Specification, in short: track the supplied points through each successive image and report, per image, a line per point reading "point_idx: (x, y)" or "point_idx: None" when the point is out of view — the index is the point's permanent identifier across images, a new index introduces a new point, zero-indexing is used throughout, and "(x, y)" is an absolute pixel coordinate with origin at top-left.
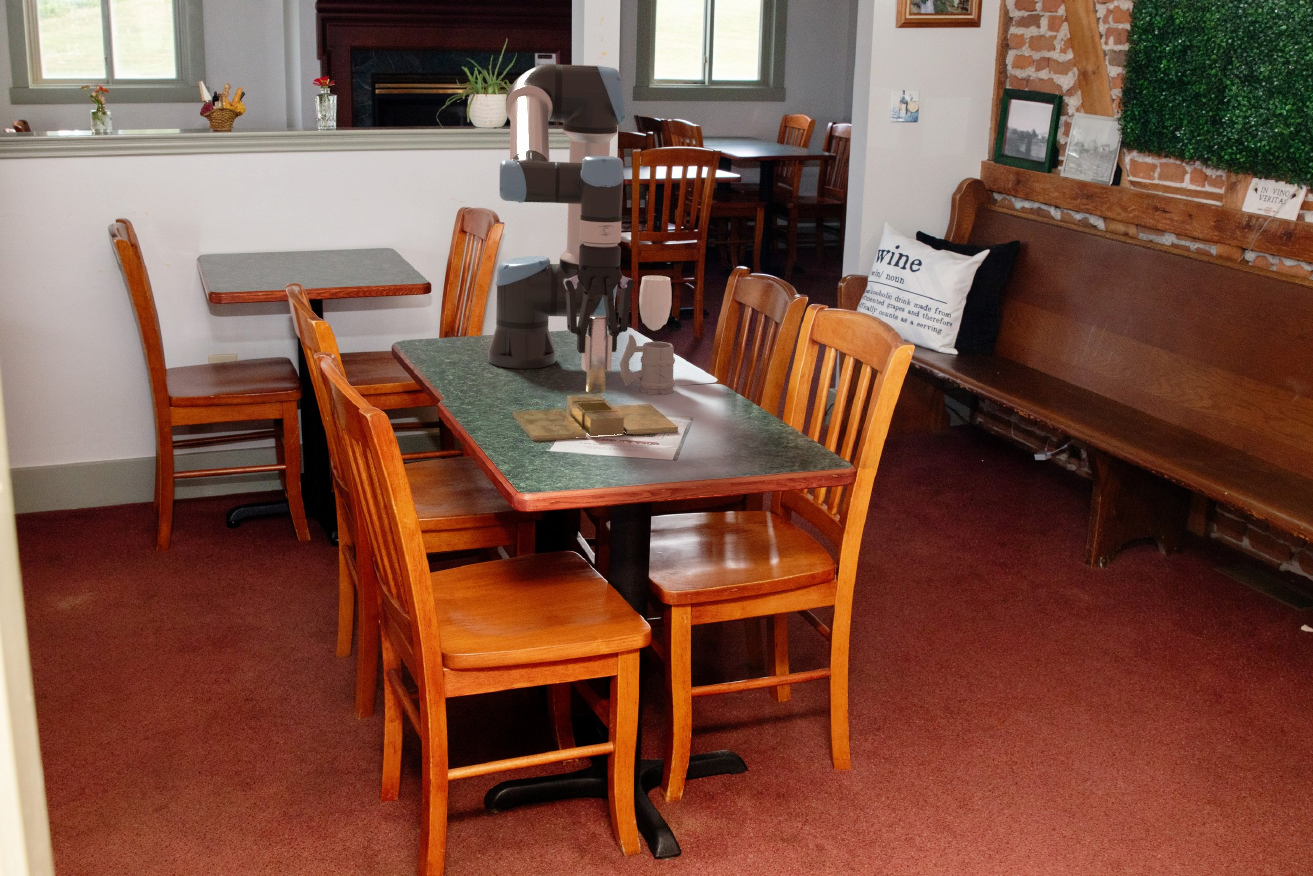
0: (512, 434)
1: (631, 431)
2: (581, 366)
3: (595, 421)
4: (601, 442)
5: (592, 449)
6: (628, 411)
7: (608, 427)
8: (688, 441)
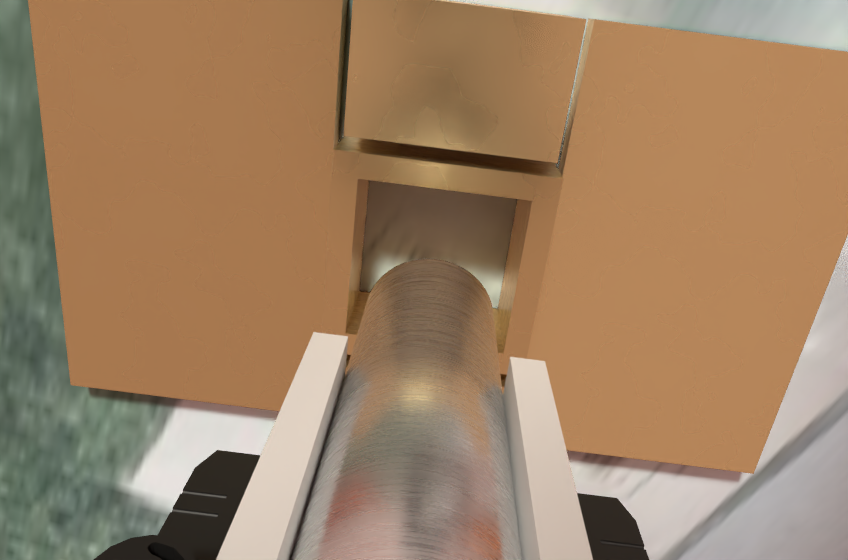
0: (6, 259)
1: None
2: (311, 340)
3: None
4: None
5: None
6: (683, 177)
7: None
8: (707, 552)
